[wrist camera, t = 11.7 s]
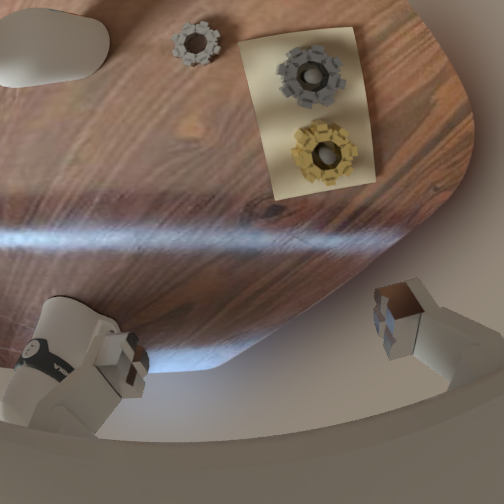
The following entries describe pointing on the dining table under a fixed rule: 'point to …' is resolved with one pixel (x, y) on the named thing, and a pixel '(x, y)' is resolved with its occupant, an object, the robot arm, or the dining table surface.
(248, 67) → the gear board
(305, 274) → the dining table surface
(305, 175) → the brass gear
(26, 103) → the dining table surface
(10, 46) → the milk bottle
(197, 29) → the zinc gear
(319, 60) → the steel gear
